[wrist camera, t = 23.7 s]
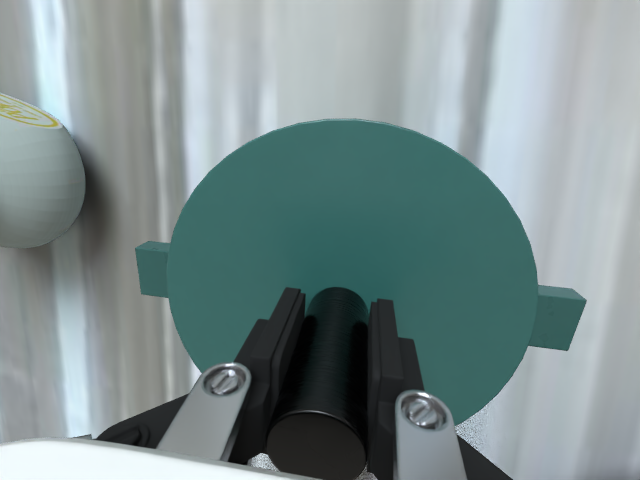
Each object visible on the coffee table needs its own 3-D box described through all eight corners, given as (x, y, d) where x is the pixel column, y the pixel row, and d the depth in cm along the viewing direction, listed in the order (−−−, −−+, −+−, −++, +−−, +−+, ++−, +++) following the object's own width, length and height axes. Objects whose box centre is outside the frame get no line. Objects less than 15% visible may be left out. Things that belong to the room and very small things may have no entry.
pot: (214, 119, 21) (103, 115, 12) (526, 140, 19) (661, 153, 10) (222, 304, 26) (145, 397, 17) (474, 337, 24) (537, 464, 15)
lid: (165, 107, 13) (-63, 86, 6) (577, 133, 11) (897, 145, 4) (191, 403, 17) (82, 574, 11) (479, 452, 16) (558, 688, 9)
